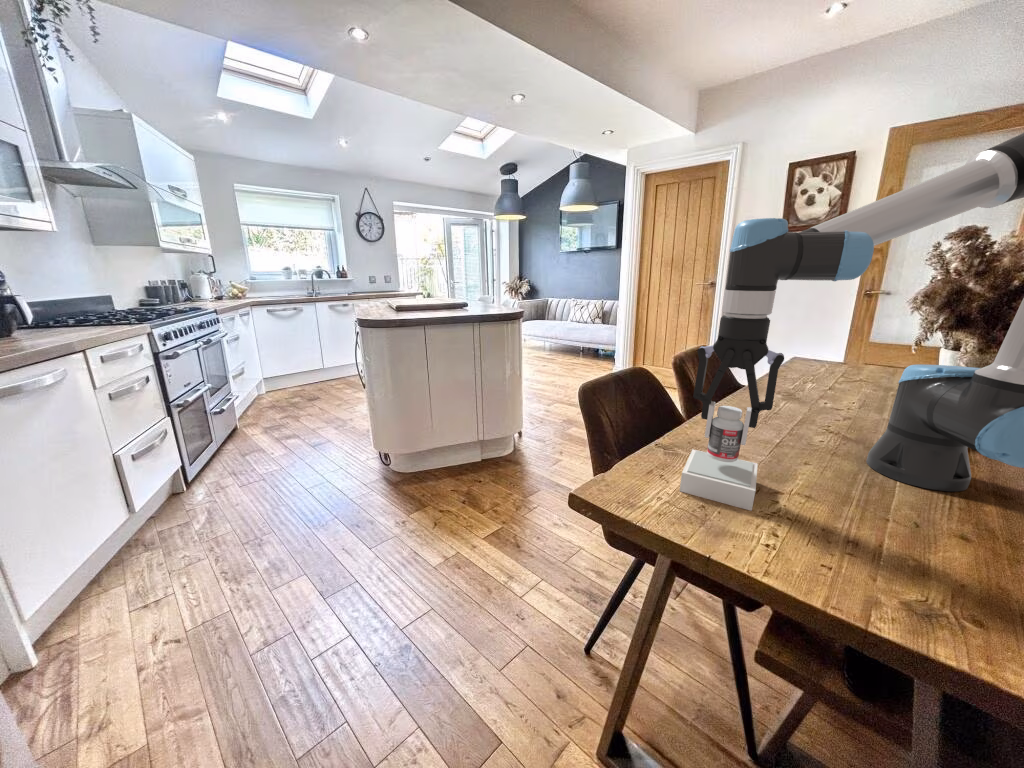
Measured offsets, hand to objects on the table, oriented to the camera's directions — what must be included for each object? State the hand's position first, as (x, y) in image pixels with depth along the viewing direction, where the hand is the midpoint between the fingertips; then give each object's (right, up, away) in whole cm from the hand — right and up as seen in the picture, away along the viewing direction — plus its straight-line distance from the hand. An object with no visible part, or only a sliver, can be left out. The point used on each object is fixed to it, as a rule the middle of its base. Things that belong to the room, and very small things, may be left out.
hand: (725, 438), depth 74 cm
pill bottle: (0, -4, +1) cm, 4 cm away
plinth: (0, -10, +3) cm, 10 cm away
